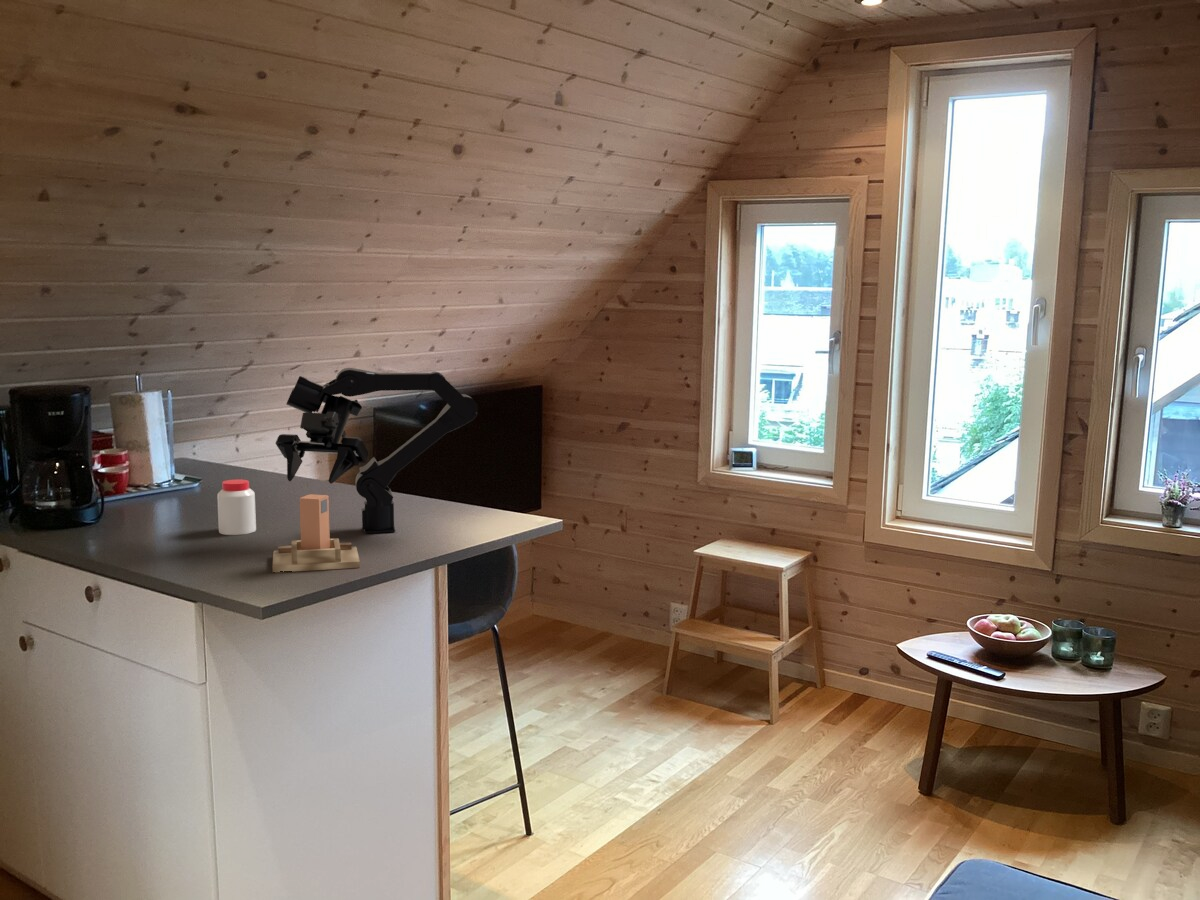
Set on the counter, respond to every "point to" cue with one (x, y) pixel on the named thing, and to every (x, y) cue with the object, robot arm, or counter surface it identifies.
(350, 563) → the jig
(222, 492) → the pill bottle
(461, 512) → the counter surface
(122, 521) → the counter surface
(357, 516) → the counter surface
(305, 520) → the block
